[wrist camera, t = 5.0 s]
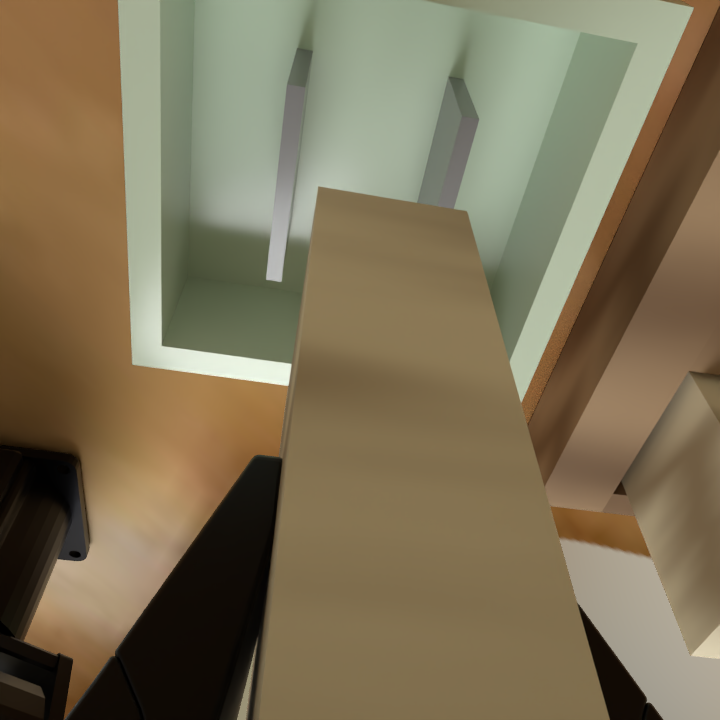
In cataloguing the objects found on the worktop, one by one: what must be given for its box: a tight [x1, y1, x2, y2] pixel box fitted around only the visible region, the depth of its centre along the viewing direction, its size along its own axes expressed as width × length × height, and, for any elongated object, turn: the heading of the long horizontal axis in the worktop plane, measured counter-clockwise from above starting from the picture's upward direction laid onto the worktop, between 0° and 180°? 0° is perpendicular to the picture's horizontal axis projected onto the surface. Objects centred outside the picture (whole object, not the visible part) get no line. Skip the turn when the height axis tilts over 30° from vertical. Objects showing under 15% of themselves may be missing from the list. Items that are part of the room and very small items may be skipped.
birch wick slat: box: [246, 186, 610, 720], centre depth 9 cm, size 5×2×9 cm, turn 170°
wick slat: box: [621, 371, 720, 659], centre depth 21 cm, size 5×2×9 cm, turn 170°
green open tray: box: [118, 0, 694, 402], centre depth 18 cm, size 11×11×4 cm
